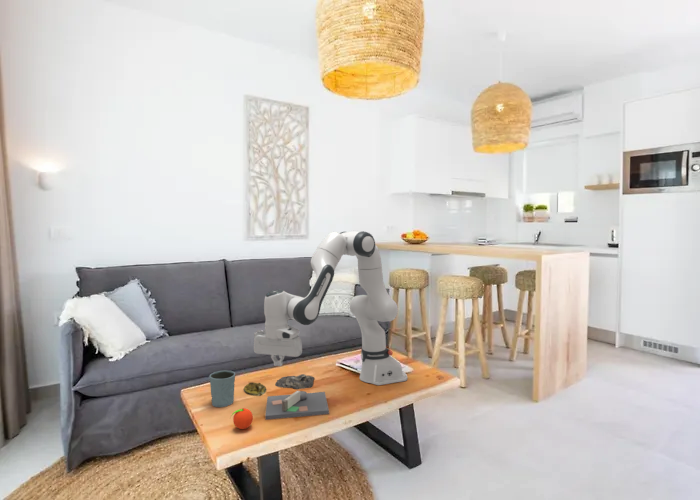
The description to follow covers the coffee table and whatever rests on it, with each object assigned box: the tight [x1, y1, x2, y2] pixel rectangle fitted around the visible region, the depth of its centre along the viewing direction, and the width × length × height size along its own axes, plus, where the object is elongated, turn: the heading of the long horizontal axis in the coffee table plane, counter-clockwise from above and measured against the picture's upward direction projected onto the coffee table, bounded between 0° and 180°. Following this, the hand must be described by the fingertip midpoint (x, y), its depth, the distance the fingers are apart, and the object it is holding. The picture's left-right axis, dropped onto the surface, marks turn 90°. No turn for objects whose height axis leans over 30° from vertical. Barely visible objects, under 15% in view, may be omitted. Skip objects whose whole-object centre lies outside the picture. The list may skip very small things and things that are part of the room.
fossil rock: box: [274, 374, 315, 391], centre depth 188 cm, size 19×4×15 cm
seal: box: [243, 381, 267, 397], centre depth 182 cm, size 9×5×15 cm
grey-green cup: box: [209, 369, 236, 408], centre depth 169 cm, size 10×10×12 cm
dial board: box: [264, 391, 330, 421], centre depth 164 cm, size 24×18×2 cm
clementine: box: [229, 407, 254, 430], centre depth 147 cm, size 8×7×7 cm
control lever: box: [282, 390, 308, 411], centre depth 163 cm, size 15×4×4 cm, turn 156°
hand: (278, 365), depth 162 cm, fingers closed
